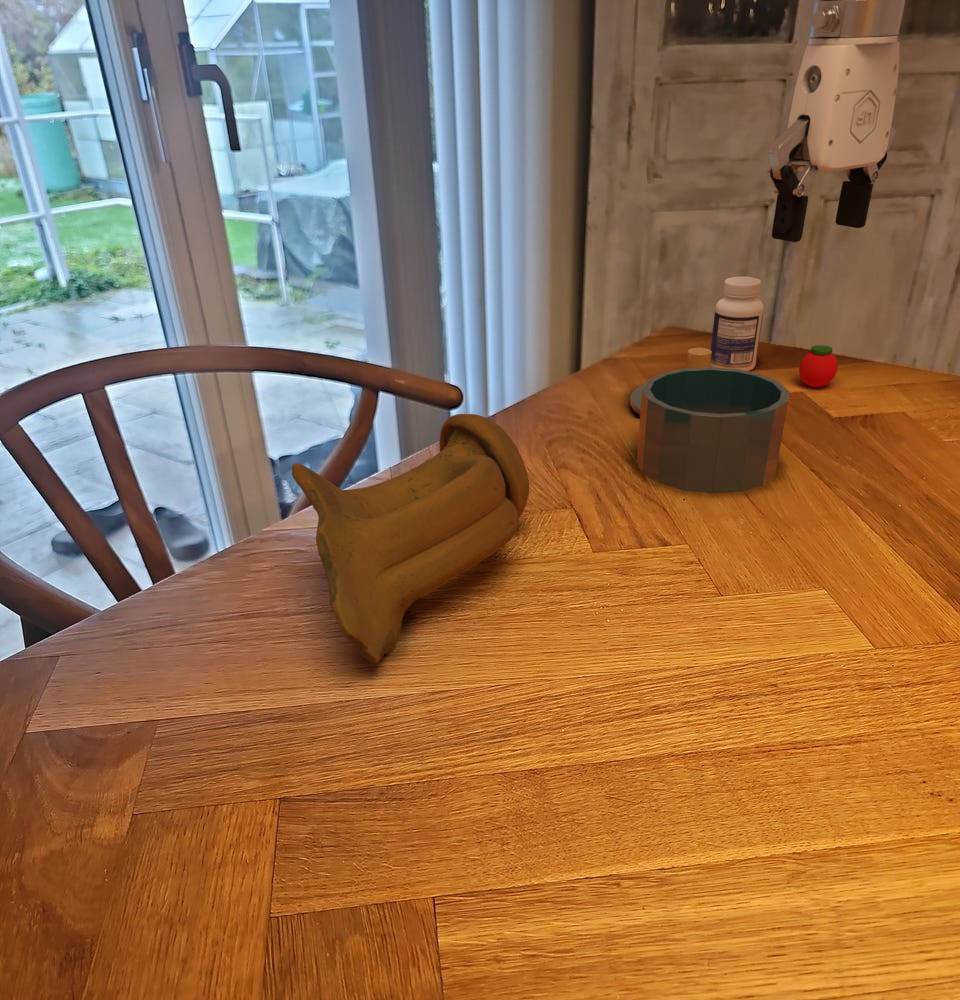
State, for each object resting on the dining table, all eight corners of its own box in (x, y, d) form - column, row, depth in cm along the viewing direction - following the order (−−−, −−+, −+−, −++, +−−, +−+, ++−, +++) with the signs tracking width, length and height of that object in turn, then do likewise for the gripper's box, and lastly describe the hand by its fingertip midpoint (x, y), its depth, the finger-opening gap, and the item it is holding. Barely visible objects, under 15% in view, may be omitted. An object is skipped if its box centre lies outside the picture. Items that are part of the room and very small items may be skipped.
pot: (750, 439, 86) (761, 363, 82) (795, 494, 76) (811, 411, 72) (625, 447, 86) (630, 371, 82) (654, 503, 76) (661, 420, 72)
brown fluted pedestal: (189, 492, 63) (428, 373, 72) (270, 642, 69) (482, 515, 78) (282, 507, 48) (570, 354, 57) (375, 698, 54) (625, 531, 62)
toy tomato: (825, 379, 100) (832, 341, 97) (839, 391, 97) (847, 352, 94) (790, 381, 100) (797, 343, 97) (803, 393, 96) (810, 354, 94)
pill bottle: (719, 356, 107) (730, 272, 102) (762, 363, 105) (775, 277, 99) (701, 369, 104) (710, 282, 98) (744, 376, 101) (757, 288, 96)
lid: (736, 384, 99) (743, 329, 96) (776, 429, 88) (787, 368, 85) (618, 391, 99) (622, 335, 95) (644, 437, 88) (649, 376, 84)
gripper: (827, 27, 72) (791, 251, 81) (951, 20, 79) (904, 226, 89) (755, 28, 77) (729, 239, 87) (878, 22, 84) (842, 216, 94)
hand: (818, 232), depth 88 cm, fingers open, 9 cm apart
